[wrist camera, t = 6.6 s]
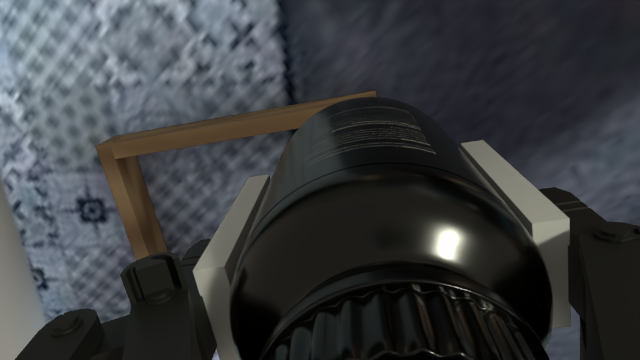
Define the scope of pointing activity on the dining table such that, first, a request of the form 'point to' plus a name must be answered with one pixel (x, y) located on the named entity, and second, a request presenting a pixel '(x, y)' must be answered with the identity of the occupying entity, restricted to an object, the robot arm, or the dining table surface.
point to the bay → (125, 148)
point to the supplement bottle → (386, 250)
